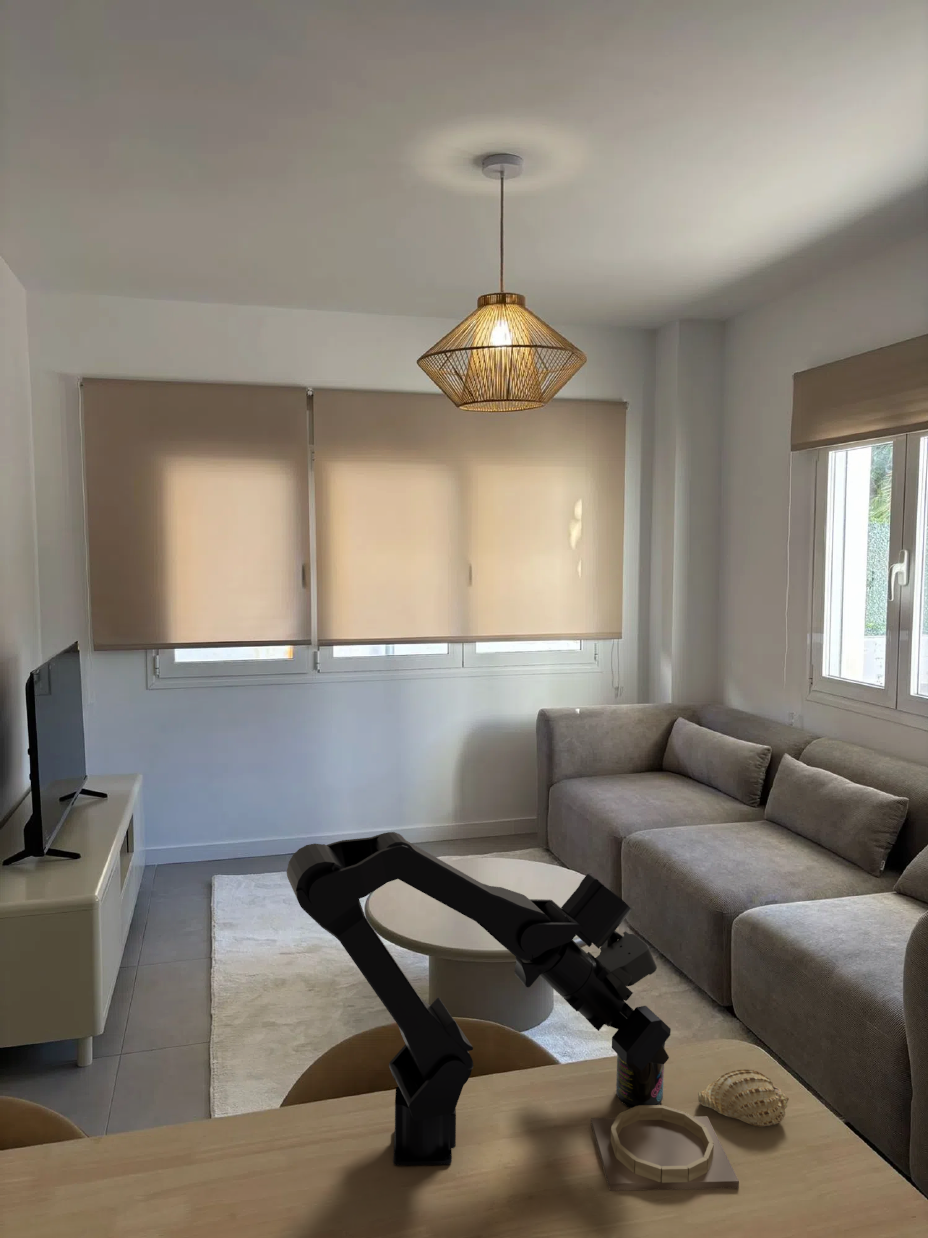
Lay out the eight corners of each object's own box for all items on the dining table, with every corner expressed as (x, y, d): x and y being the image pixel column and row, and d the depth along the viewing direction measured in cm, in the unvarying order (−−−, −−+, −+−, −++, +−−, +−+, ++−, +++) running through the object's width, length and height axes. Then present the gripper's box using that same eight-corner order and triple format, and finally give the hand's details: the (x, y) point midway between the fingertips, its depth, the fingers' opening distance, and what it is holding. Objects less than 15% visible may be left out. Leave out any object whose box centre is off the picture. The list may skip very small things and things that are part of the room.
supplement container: (649, 1119, 109) (651, 1047, 108) (606, 1100, 113) (608, 1030, 112) (671, 1096, 114) (673, 1027, 113) (629, 1078, 117) (631, 1011, 117)
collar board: (609, 1190, 97) (610, 1170, 97) (590, 1124, 108) (591, 1106, 108) (738, 1188, 98) (739, 1168, 97) (707, 1122, 109) (707, 1104, 108)
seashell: (723, 1158, 107) (802, 1124, 107) (703, 1114, 106) (782, 1080, 106) (705, 1116, 115) (778, 1084, 114) (687, 1075, 114) (760, 1043, 114)
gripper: (658, 954, 101) (737, 1032, 106) (581, 892, 119) (651, 961, 123) (593, 1034, 99) (677, 1110, 104) (524, 959, 117) (598, 1027, 121)
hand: (650, 1045), depth 113 cm, fingers open, 7 cm apart
